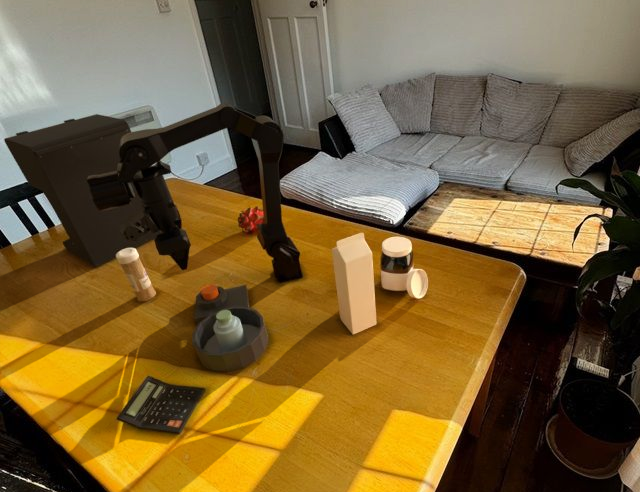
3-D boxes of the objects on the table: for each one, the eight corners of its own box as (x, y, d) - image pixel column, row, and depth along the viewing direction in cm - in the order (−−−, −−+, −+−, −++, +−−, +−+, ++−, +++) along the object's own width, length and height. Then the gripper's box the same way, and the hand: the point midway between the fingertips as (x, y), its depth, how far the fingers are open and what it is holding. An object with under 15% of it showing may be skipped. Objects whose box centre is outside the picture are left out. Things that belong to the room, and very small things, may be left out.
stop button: (218, 289, 99) (216, 283, 98) (218, 298, 96) (216, 291, 95) (203, 292, 98) (201, 286, 97) (203, 302, 95) (200, 295, 94)
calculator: (180, 434, 71) (174, 424, 69) (121, 427, 73) (114, 417, 72) (205, 390, 79) (201, 380, 77) (151, 385, 81) (146, 374, 79)
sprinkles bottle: (158, 297, 104) (137, 252, 96) (138, 304, 102) (116, 259, 94) (154, 288, 107) (134, 244, 99) (135, 295, 105) (113, 251, 97)
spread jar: (385, 271, 106) (383, 232, 99) (429, 274, 104) (431, 234, 97) (377, 301, 97) (375, 260, 90) (426, 304, 94) (427, 263, 88)
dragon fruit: (238, 241, 127) (271, 231, 134) (249, 234, 120) (283, 223, 127) (227, 216, 126) (261, 207, 134) (237, 207, 120) (272, 198, 127)
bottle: (246, 333, 90) (236, 303, 85) (247, 350, 86) (237, 319, 81) (221, 339, 89) (209, 309, 84) (221, 357, 85) (209, 326, 80)
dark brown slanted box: (148, 212, 145) (106, 108, 125) (181, 225, 135) (140, 115, 115) (65, 249, 127) (0, 136, 107) (96, 268, 117) (30, 146, 97)
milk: (376, 324, 90) (372, 238, 77) (352, 335, 88) (343, 248, 75) (362, 309, 95) (356, 225, 82) (339, 319, 92) (329, 234, 80)
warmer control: (248, 291, 103) (244, 278, 101) (250, 313, 96) (246, 300, 94) (198, 302, 101) (193, 289, 99) (197, 326, 94) (191, 313, 92)
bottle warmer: (265, 316, 95) (260, 300, 92) (271, 361, 84) (266, 344, 81) (200, 332, 92) (193, 315, 89) (198, 380, 81) (190, 363, 78)
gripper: (112, 192, 89) (141, 252, 98) (114, 227, 75) (147, 294, 84) (165, 178, 92) (189, 237, 101) (177, 210, 78) (202, 275, 88)
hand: (181, 259), depth 93 cm, fingers open, 9 cm apart
